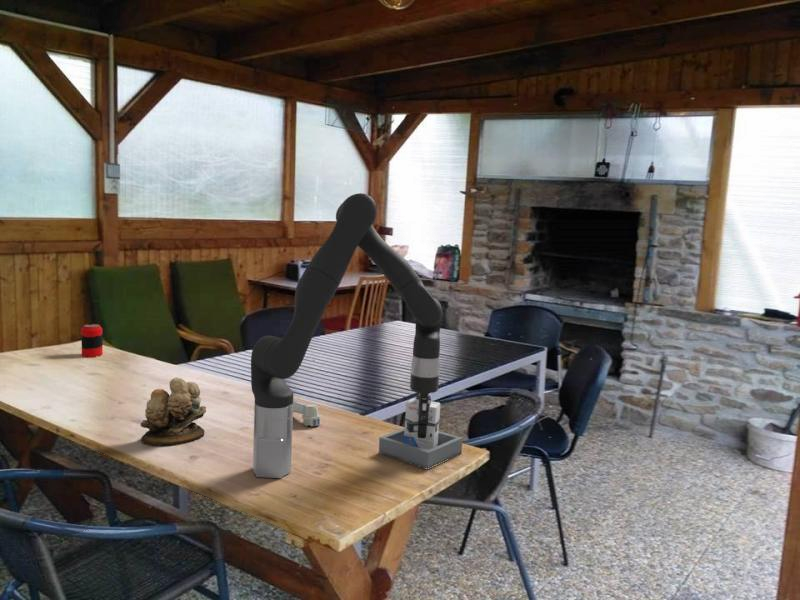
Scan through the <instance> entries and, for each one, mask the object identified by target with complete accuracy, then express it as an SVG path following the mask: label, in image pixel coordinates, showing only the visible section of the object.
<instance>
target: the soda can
mask: <svg viewBox="0 0 800 600" xmlns="http://www.w3.org/2000/svg"><path fill="white" fill-rule="evenodd" d="M80 337H81V356H82V357H83V356H85V357H84V358H97V357H96V356H99V357H102V356H103V354H104V353H103V350H104V349H103V348H104V347H103V328H102V326H101V325H100V324H96V323H89V324H84V325H83V327H82V328H81V336H80ZM101 355H102V356H101Z"/></svg>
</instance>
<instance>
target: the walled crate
mask: <svg viewBox="0 0 800 600" xmlns="http://www.w3.org/2000/svg"><path fill="white" fill-rule="evenodd" d="M404 431H405V427H404V428H402V429H401V428H400V429H397V430H396V431H393V432H391V433H387V434H384V435H382V436H379V444H378V454H379V455H382V456H385V457H388V458H391V459H394V458H395V459H394V460H397V459H398V460H397V461H400V460H402V461H401V462H403V461H404V462H403V463H406V462H407V463H406V464H408V463H411V464H413V465H412V466H414V465H416V466H415V467H417V466H420V467H423V468H427V469H428V468H430V467H432V466H434V465H436V464H439V463H441V462H443V461H445V460H447V459H450V458H452V457H454V458H456V457H458V456H460V455H462V453H463V437H461V436H457V435H454V434H450V433H446V432H443V431H440V430H439V432H438V444H437V446H436V447H434V448H432V449H425V448H419V447H415V446H412V445H408V444H405V443H404ZM459 454H460V455H459ZM457 455H458V456H457ZM455 456H456V457H455ZM452 459H453V458H452ZM450 460H451V459H450ZM447 461H448V460H447ZM445 462H446V461H445ZM443 463H444V462H443ZM411 464H410V465H411ZM441 464H442V463H441ZM439 465H440V464H439ZM420 467H419V468H420ZM423 468H422V469H423ZM428 470H429V469H428Z"/></svg>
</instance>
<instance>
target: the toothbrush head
mask: <svg viewBox="0 0 800 600" xmlns="http://www.w3.org/2000/svg"><path fill="white" fill-rule="evenodd" d="M293 413H295V414H300V415H301V419H302V422H303V426H304V425H305V426H304V427H309V426H310V427H317V426H318V427H319V426H320V425H321V419H322V415H321V414H319V407H318V405H316V404H306V403H304V402H301V401H298V400H295V399H293Z"/></svg>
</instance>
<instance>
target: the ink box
mask: <svg viewBox="0 0 800 600" xmlns="http://www.w3.org/2000/svg"><path fill="white" fill-rule="evenodd" d="M405 404H406V405H405V417H404V421H405V422H404V428H405V431H404V443H405V444H408V445H412V446H415V447H419V448H425V449H432V448H434V447H436V446H437V444H438V432H439V431H440V416H441V403H440V402H436V401H431V405H430V407H429V412H430V414H429V416H428V425H427V429H426V438H418V415H417V404H416V398H411V399H409V400H408V401H407V402H406V403H405ZM421 420H426V416H421Z"/></svg>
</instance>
